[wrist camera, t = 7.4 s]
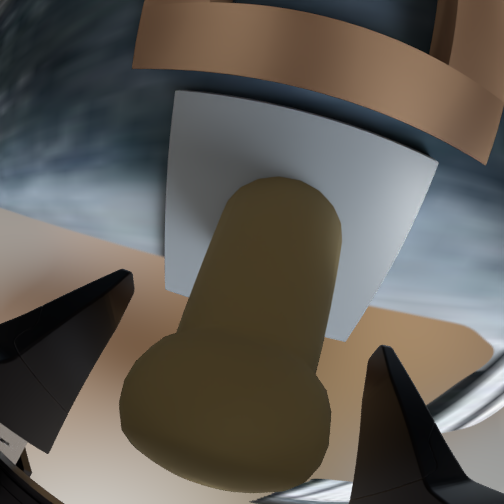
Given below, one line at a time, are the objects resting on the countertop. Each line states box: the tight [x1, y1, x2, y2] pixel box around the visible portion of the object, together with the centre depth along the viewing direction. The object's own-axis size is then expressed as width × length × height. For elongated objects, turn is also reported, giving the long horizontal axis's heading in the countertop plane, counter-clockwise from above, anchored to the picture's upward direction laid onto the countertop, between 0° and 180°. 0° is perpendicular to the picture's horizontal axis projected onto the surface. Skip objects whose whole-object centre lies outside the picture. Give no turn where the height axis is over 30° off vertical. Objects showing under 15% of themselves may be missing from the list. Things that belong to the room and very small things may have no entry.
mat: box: [165, 90, 439, 342], centre depth 14 cm, size 12×12×1 cm
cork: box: [119, 176, 342, 493], centre depth 9 cm, size 6×6×11 cm
